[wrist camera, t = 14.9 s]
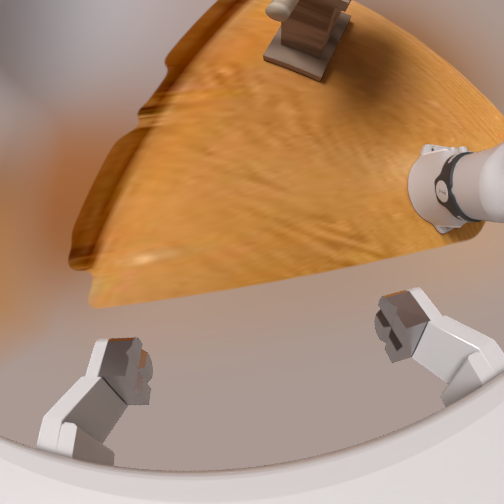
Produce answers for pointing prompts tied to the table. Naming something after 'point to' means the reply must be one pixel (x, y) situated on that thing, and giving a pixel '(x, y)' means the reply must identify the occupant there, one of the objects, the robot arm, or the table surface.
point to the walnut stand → (309, 37)
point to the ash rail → (281, 9)
